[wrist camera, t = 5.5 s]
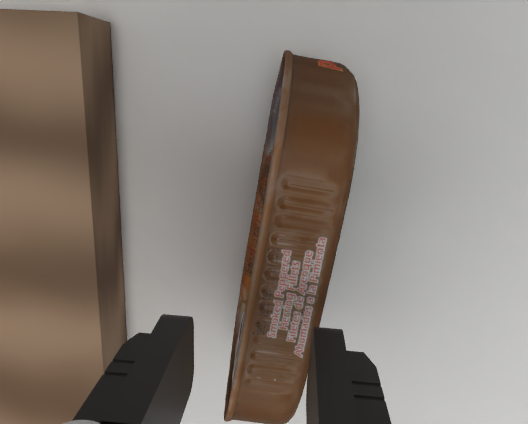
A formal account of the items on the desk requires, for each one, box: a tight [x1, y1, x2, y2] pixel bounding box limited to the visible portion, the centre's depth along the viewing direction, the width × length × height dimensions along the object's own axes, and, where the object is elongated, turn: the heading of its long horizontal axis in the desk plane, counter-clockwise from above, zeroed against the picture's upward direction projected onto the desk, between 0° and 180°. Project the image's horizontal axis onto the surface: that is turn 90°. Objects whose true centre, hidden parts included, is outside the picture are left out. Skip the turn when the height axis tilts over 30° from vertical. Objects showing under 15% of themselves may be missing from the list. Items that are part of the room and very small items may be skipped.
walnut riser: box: [0, 9, 127, 424], centre depth 22 cm, size 22×10×3 cm, turn 177°
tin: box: [224, 50, 359, 424], centre depth 17 cm, size 15×3×8 cm, turn 170°
